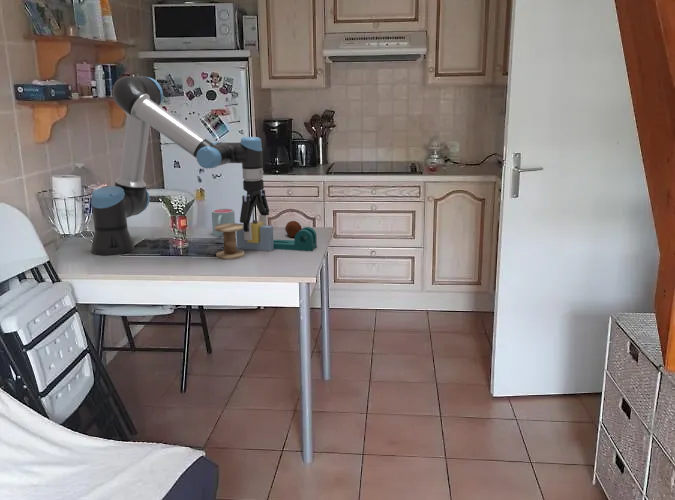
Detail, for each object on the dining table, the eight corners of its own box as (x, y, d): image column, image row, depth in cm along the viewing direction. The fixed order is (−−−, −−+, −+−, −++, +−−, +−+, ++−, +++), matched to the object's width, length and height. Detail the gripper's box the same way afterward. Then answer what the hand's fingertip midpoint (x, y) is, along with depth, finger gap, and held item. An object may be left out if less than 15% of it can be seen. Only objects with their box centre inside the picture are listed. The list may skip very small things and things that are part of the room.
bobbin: (211, 257, 227) (209, 228, 224) (225, 251, 236) (223, 222, 233) (235, 260, 223) (234, 230, 221) (249, 253, 233) (247, 224, 230)
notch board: (237, 248, 240) (236, 225, 238) (241, 246, 243) (240, 223, 241) (270, 251, 235) (269, 227, 233) (273, 249, 238) (273, 226, 236)
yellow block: (247, 242, 237) (246, 221, 234) (254, 239, 241) (253, 218, 239) (257, 243, 235) (256, 222, 233) (263, 239, 240) (263, 219, 238)
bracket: (316, 247, 242) (316, 227, 240) (311, 251, 235) (311, 231, 233) (272, 244, 246) (271, 225, 244) (266, 249, 239) (265, 229, 237)
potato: (283, 238, 255) (282, 222, 253) (287, 233, 264) (286, 218, 262) (300, 238, 254) (299, 223, 253) (303, 233, 263) (303, 218, 262)
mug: (215, 231, 267) (214, 208, 265) (237, 231, 267) (236, 208, 264) (208, 239, 254) (206, 215, 252) (230, 239, 254) (229, 215, 251)
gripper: (246, 185, 221) (249, 244, 226) (276, 174, 242) (278, 229, 248) (227, 184, 223) (231, 242, 229) (259, 174, 245) (261, 227, 251)
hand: (256, 235), depth 239 cm, fingers open, 12 cm apart
